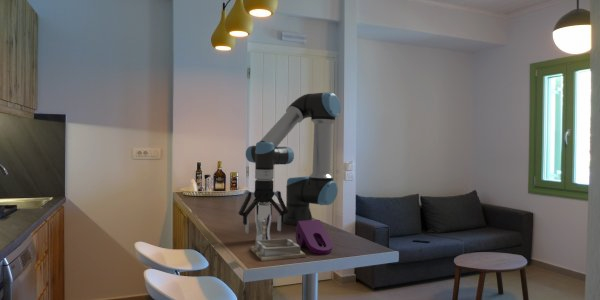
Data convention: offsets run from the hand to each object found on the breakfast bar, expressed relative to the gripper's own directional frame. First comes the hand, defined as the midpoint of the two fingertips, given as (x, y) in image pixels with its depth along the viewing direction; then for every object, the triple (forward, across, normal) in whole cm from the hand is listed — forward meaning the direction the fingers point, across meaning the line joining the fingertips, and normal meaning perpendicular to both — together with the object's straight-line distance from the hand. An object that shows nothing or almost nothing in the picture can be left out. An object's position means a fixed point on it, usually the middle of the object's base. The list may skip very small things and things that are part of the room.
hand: (263, 231), depth 166 cm
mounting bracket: (+4, +16, -17) cm, 24 cm away
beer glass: (+4, 0, 0) cm, 4 cm away
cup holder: (+4, 0, -19) cm, 19 cm away
